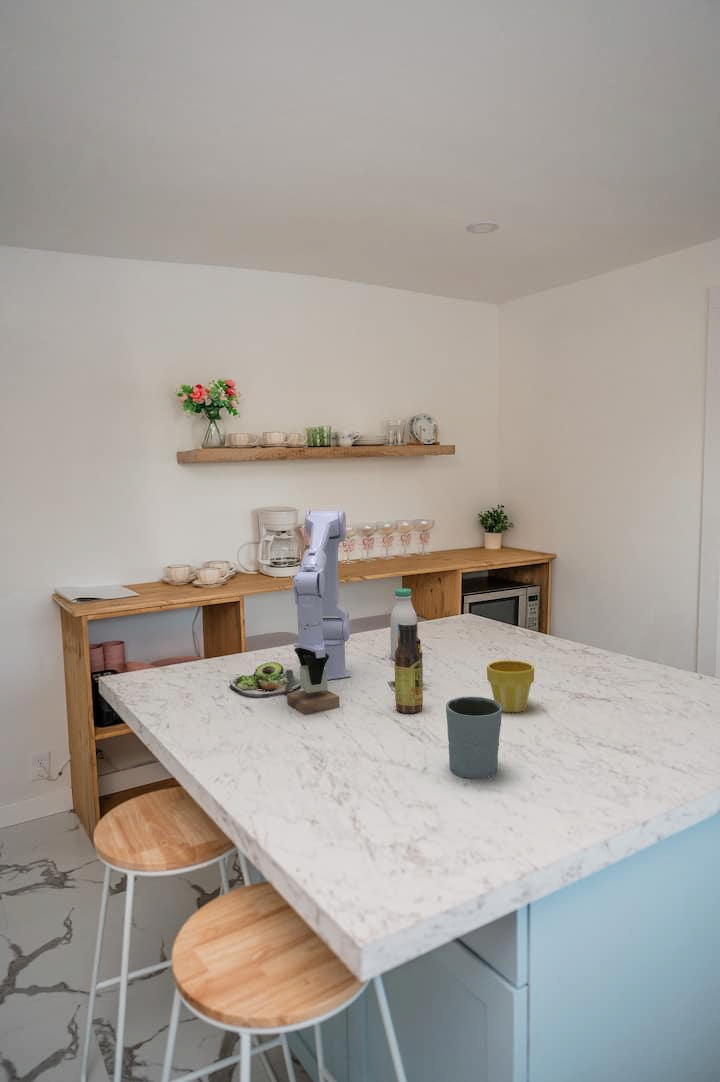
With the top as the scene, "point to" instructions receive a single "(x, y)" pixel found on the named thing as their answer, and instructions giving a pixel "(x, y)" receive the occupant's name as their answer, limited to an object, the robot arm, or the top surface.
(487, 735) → the grey blue cup
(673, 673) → the top surface
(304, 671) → the sage cube
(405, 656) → the sauce bottle
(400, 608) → the milk bottle
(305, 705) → the walnut block
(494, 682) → the plant pot
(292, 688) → the salad plate
